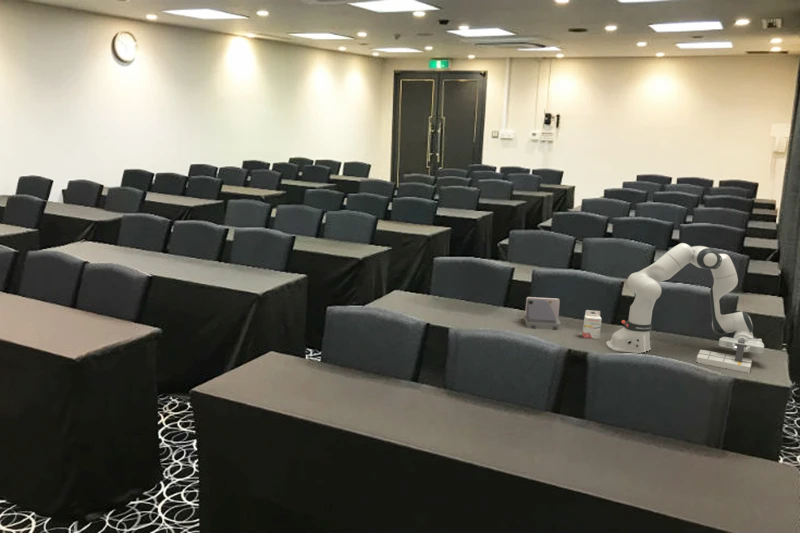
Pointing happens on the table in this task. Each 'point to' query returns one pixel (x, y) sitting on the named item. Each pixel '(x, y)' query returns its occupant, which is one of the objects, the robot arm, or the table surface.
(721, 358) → the fader console
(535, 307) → the tablet on stand
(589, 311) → the ink cartridge box
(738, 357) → the fader knob
